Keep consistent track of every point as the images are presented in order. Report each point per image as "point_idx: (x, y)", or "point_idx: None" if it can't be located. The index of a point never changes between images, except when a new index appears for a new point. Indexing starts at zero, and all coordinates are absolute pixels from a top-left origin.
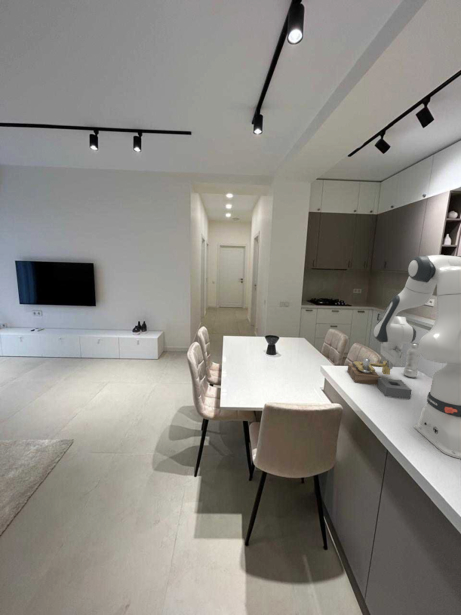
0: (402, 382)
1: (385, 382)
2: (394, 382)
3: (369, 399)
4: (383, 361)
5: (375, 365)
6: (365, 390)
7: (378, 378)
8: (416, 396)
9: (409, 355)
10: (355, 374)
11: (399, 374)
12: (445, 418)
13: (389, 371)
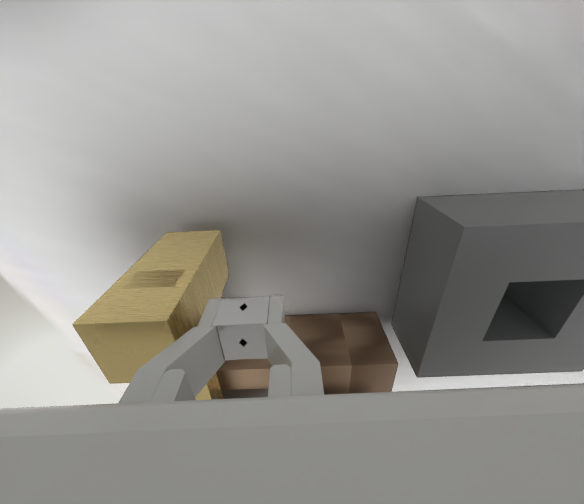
0: (521, 235)
1: (504, 359)
2: (496, 295)
3: (539, 382)
4: (120, 373)
5: (216, 393)
6: (448, 379)
7: (421, 374)
8: (561, 105)
9: None
10: None
11: (2, 35)
12: None
13: (212, 252)
